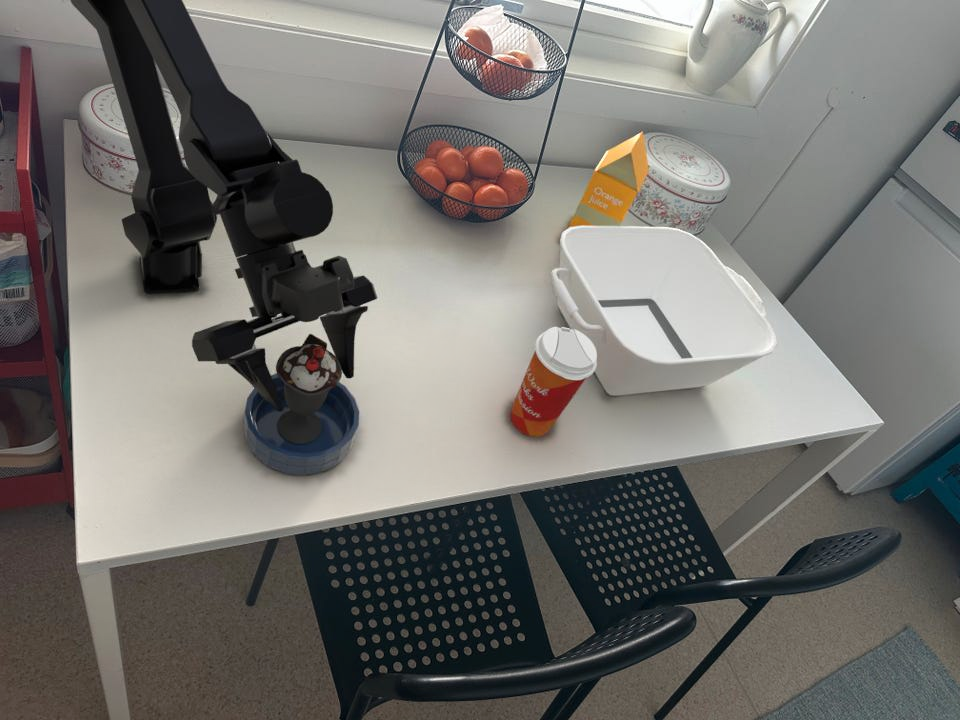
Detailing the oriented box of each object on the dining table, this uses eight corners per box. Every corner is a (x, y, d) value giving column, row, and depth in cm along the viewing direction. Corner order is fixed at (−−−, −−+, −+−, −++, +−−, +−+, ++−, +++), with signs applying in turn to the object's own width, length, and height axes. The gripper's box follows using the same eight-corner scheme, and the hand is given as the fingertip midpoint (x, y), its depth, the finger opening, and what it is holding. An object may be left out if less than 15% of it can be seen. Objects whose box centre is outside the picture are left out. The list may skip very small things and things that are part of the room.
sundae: (300, 461, 78) (317, 372, 67) (256, 425, 79) (265, 332, 69) (341, 428, 82) (363, 339, 72) (299, 394, 84) (313, 303, 73)
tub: (673, 285, 123) (711, 227, 114) (759, 408, 107) (811, 351, 98) (498, 290, 108) (526, 223, 99) (569, 432, 93) (609, 368, 84)
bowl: (254, 486, 75) (256, 466, 72) (235, 396, 82) (236, 375, 79) (366, 467, 80) (371, 448, 78) (339, 385, 87) (343, 364, 84)
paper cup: (499, 393, 94) (534, 318, 84) (553, 399, 96) (594, 327, 86) (505, 441, 89) (544, 367, 79) (562, 447, 91) (607, 376, 81)
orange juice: (560, 242, 122) (607, 140, 108) (574, 219, 128) (621, 119, 114) (601, 263, 121) (654, 162, 107) (613, 238, 127) (665, 140, 113)
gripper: (209, 268, 59) (274, 438, 63) (383, 214, 71) (429, 360, 74) (163, 280, 67) (223, 429, 71) (326, 230, 79) (369, 361, 83)
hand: (316, 393), depth 75 cm, fingers open, 8 cm apart
